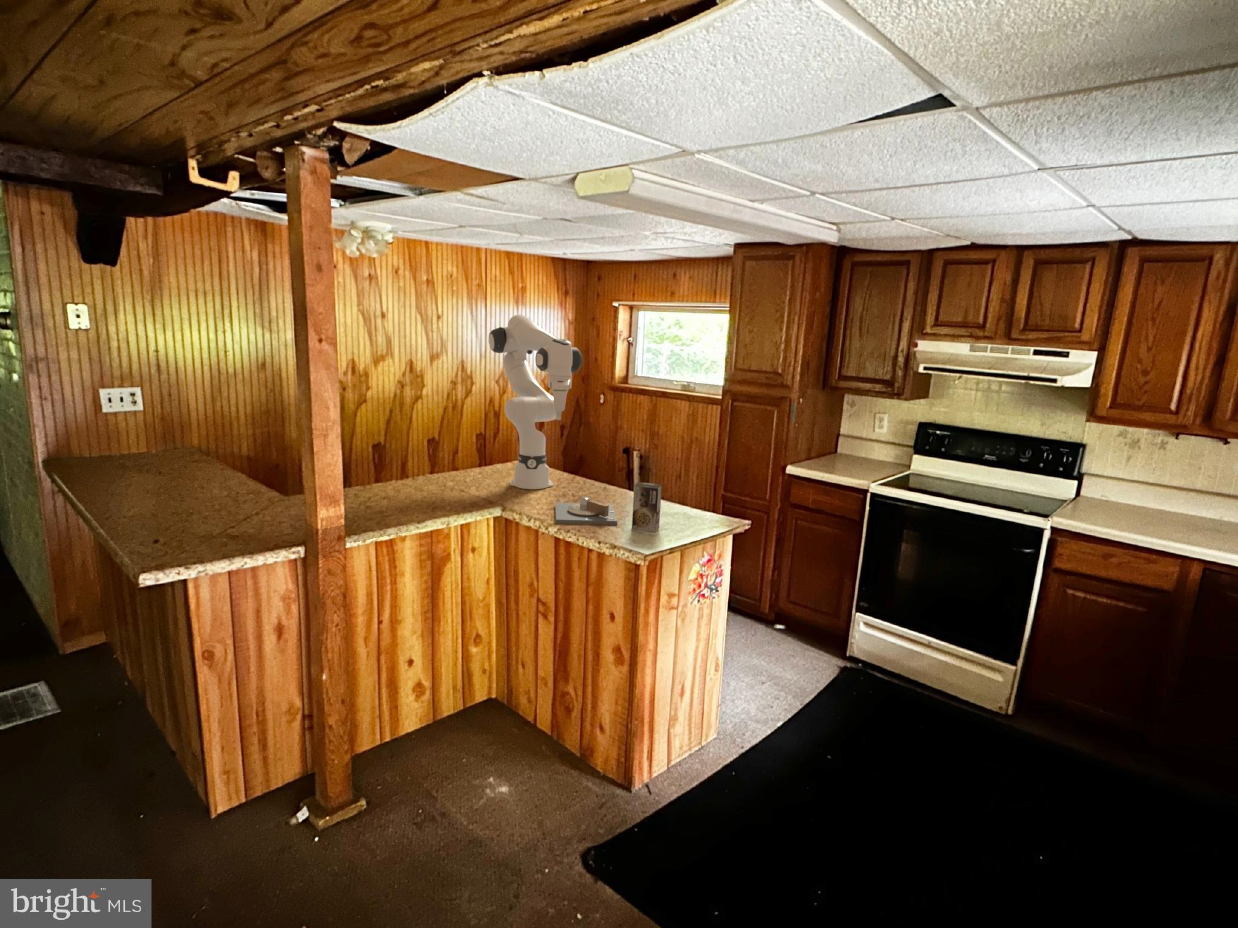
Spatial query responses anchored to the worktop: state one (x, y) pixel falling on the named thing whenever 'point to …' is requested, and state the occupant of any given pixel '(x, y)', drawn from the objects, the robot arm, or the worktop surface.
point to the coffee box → (646, 506)
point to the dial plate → (570, 518)
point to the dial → (589, 508)
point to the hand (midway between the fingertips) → (558, 419)
